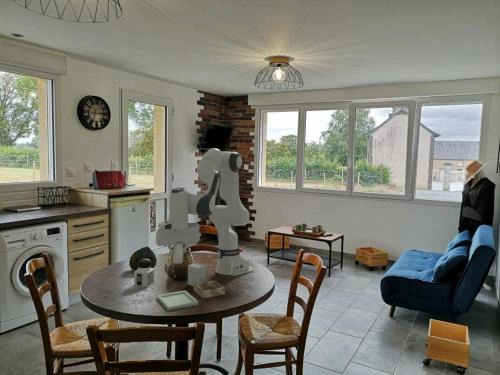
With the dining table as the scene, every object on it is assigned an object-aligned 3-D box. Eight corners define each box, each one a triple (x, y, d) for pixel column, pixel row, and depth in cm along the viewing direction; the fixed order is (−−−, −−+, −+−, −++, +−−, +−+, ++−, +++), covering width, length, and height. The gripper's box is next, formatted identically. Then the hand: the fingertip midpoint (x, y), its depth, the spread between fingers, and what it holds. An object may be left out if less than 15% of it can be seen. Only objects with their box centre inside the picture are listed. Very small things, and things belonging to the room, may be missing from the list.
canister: (181, 260, 172) (181, 239, 171) (184, 263, 168) (185, 241, 167) (171, 261, 170) (171, 240, 169) (174, 264, 166) (175, 242, 165)
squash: (124, 259, 218) (131, 243, 210) (148, 256, 228) (156, 241, 220) (130, 279, 211) (138, 264, 202) (155, 275, 220) (163, 261, 212)
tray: (185, 293, 181) (185, 290, 181) (198, 305, 167) (198, 301, 167) (157, 298, 174) (157, 295, 174) (168, 310, 160) (168, 307, 160)
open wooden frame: (214, 287, 191) (214, 280, 191) (224, 294, 181) (225, 287, 181) (193, 290, 185) (193, 283, 185) (203, 298, 175) (203, 291, 175)
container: (147, 287, 188) (147, 262, 187) (133, 286, 189) (133, 261, 188) (154, 282, 195) (154, 258, 194) (141, 281, 197) (141, 257, 196)
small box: (206, 285, 194) (206, 265, 193) (199, 288, 189) (199, 267, 188) (194, 281, 198) (195, 262, 197) (187, 284, 194) (187, 265, 193)
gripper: (196, 221, 176) (196, 249, 177) (154, 224, 165) (154, 254, 166) (202, 223, 170) (201, 252, 171) (158, 226, 160) (158, 257, 161)
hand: (178, 253), depth 169 cm, fingers closed on canister, 4 cm apart
